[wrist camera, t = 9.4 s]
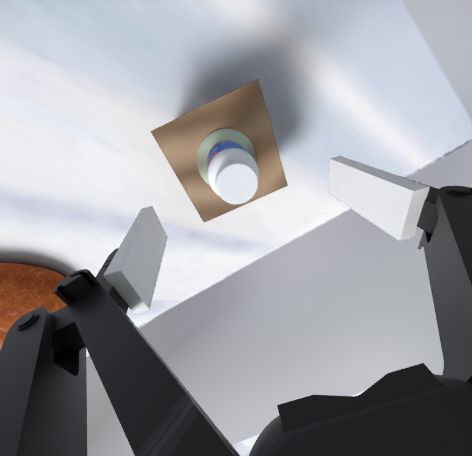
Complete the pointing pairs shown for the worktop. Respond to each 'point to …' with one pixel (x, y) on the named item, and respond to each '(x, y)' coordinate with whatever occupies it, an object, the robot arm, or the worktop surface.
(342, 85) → the worktop surface
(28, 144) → the worktop surface
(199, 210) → the small wooden table
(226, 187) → the pill bottle
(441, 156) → the worktop surface
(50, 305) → the bread
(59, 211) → the worktop surface
